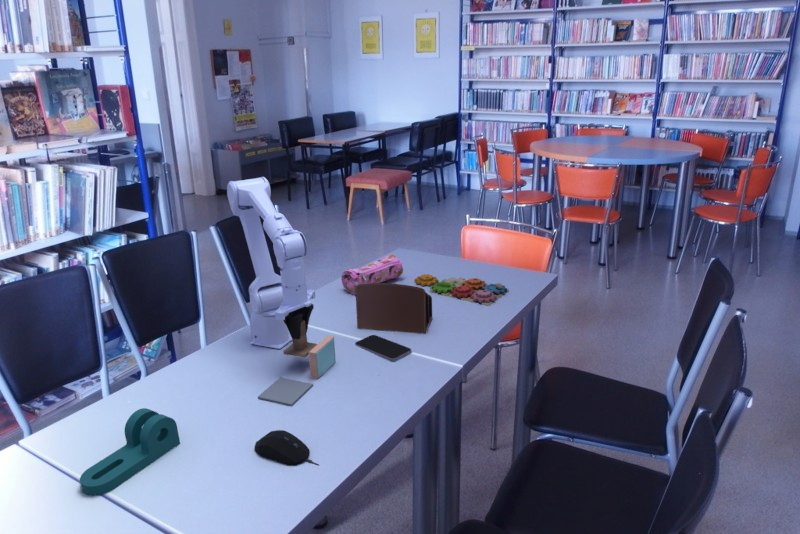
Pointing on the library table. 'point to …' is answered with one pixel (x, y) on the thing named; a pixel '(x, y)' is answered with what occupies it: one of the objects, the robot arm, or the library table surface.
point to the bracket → (132, 452)
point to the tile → (322, 357)
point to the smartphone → (383, 347)
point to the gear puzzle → (464, 288)
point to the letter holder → (393, 307)
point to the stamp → (300, 344)
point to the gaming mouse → (283, 448)
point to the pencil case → (372, 273)
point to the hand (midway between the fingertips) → (299, 335)
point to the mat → (285, 391)
